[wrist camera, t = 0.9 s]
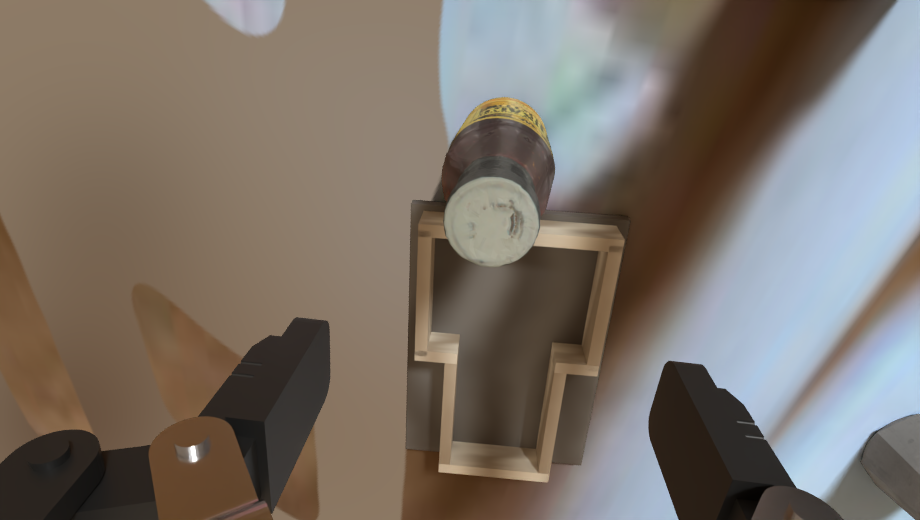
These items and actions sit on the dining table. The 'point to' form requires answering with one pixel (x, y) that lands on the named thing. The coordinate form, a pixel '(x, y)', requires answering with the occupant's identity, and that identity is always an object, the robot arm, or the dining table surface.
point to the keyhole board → (509, 344)
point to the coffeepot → (897, 462)
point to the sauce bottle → (497, 182)
